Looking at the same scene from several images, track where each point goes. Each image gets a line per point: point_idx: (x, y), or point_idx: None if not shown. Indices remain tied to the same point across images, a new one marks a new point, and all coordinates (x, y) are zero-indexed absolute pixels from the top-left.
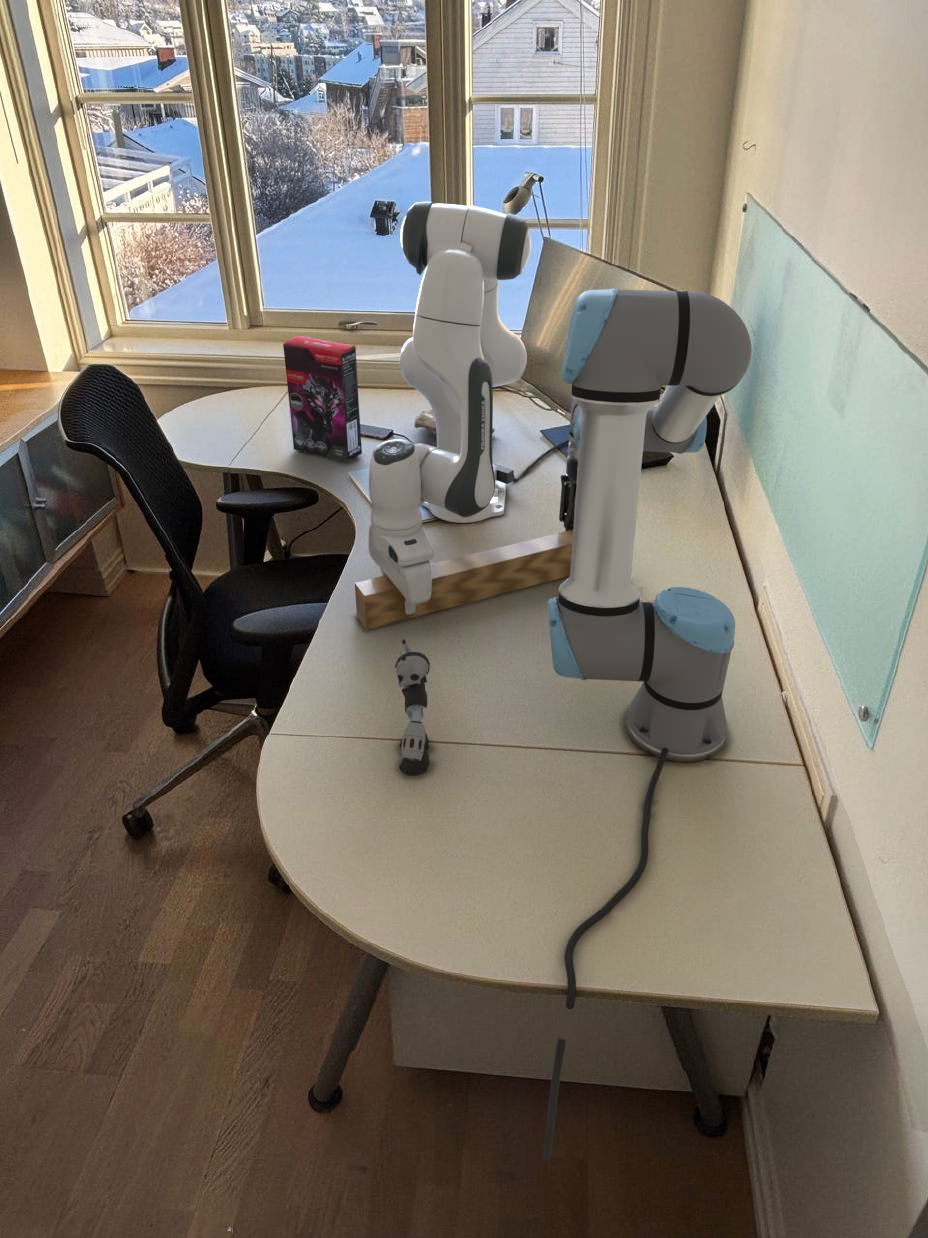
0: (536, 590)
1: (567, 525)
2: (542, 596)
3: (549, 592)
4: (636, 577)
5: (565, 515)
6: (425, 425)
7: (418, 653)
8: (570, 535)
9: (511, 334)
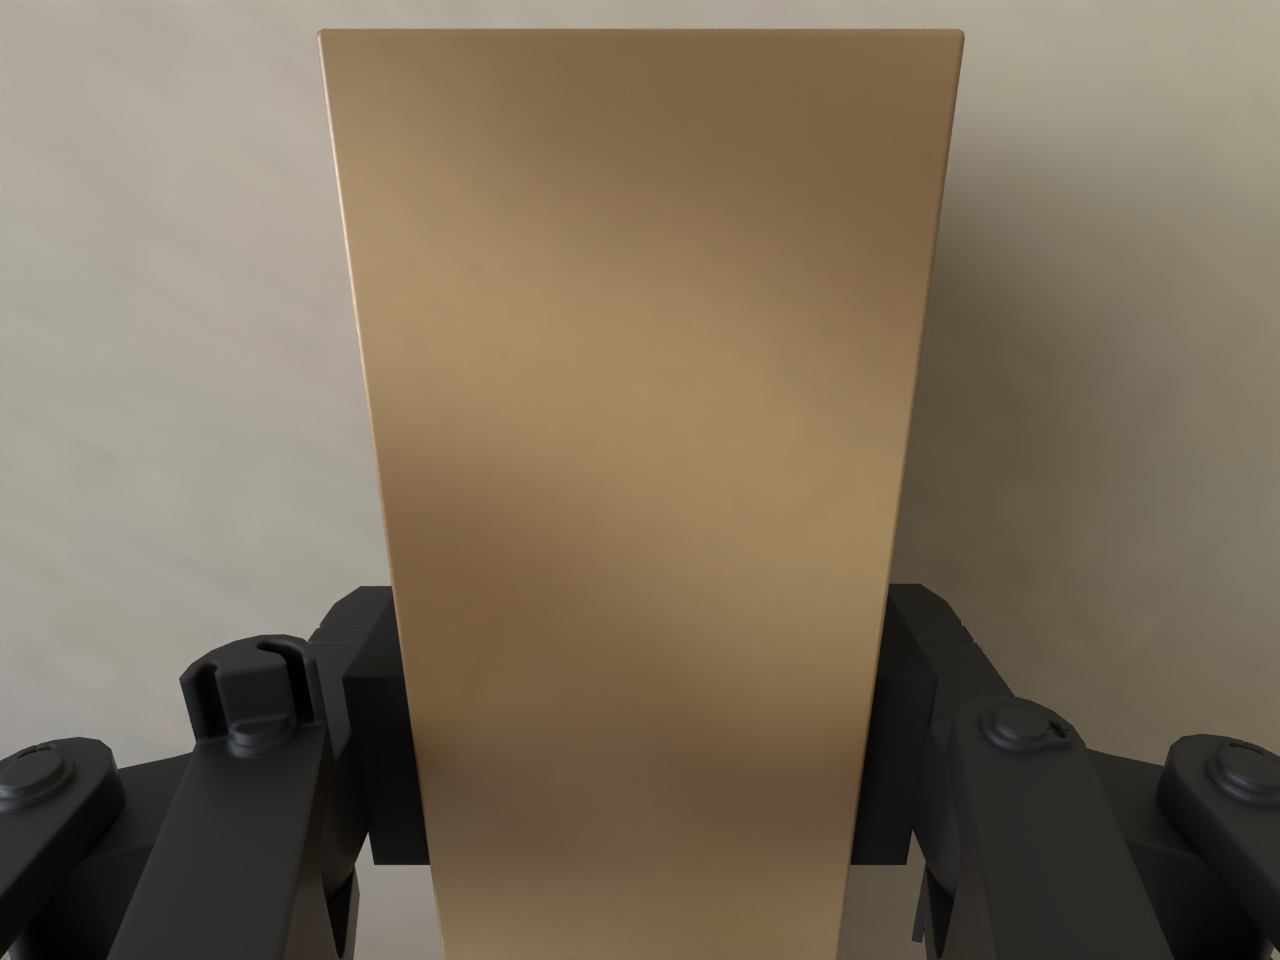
0: None
1: (354, 932)
2: (892, 943)
3: (876, 888)
4: (1181, 55)
5: (47, 950)
6: None
7: None
8: (600, 924)
9: None
